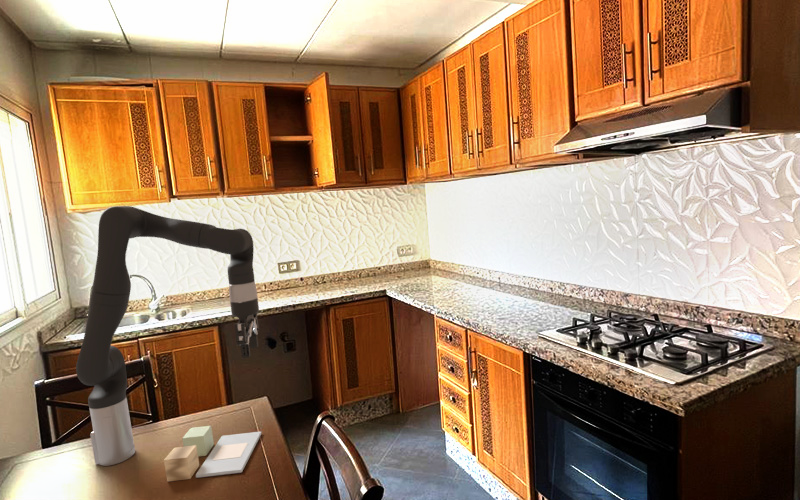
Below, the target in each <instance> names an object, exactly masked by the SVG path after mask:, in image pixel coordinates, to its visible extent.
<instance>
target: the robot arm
mask: <svg viewBox="0 0 800 500" xmlns="http://www.w3.org/2000/svg"><path fill="white" fill-rule="evenodd" d="M97 233H98V234H97V236H98V237H97V238H98V239H97V243H98V244H97V255H96V262H95V269H94V278H93V282H92V286H91V292H90V298H89V299H90V300H89V308H88V313H87V318H86V324H85V331H84V335H83V340H82V343H81V347H80V351H79V354H78V357H77V361H76V366H75V372H76V373H75V374H76V376H77V379H78V380H79V381H80V383H82V384H83V385H86V386H87V387H88V386H90V387H92V386H93V389H92V390H91V392H90V394H89V396H88V398H87V402H88V403H87V404H88V407H89V408H88V409H89V414H90V419H91V425H92V426H91V427H92V431H91V432H90V435H89V436H90V441H91V447H92V451H93V459H94V464H95V465H100V466H102V467H104V466H105V467H108V466H113V465H116V464H120V463H122V462H125V461H126V460H128V459H130V458H132V457H133V456H134V455H135V453H136V447H135V442H134V436H133V429H132V424H131V417H130V410H129V405H128V399H127V398H128V397H127V393H126V392H127V388H128V378H127V376H128V375H127V369H126V361H125V357H124V355H123V353H122V351H121V349H119V348H118V347H116V346H114V345H112V342H113V338H114V335H115V333H116V331H117V330H118V327H119V325H120V324H121V322H122V320H123V318H124V316H125V314H126V312H127V310H128V305H129V300H130V297H131V295H130V294H131V291H132V290H131V288H132V287H131V286H132V284H131V278H130V274H129V270H128V268H127V261H126V257H127V250H128V245H129V241H130V239H134V238H158V239H164V240H168V241H171V242H173V243H175V244H176V243H177V244H179V245H183V246H187V247H194V248H199V249H207V250H211V251H215V252H216V253H222V254H225V255H230V256H229V257H230V262H229V264H228V265H227V276H228V277H227V279H228V280H227V281H228V286H229V287H228V293H229V303H230V311H231V312H230V313H231V316H232V317H234V318H235V317H237V318H238V322H237V323H235V324H234V330H235V331H234V332H235V341H236V346H240V353H241V358H242V359H248V358H250V357H251V349H257V348H258V347H259V342H258V341H259V339H258V334H259V333H258V332H259V330H260V327H259V320H258V313H259V311H260V307H259V298H258V291H257V289H258V288H257V285H256V281H255V273H254V267H253V266H254V265H253V262H254V249H255V248H254V240H253V236H252V234H251V233H250V232H249V231H248V230H246V229H244V228H235V229H229V228H222V227H216V225H213V224H208V223H204V222H198V221H191V220H184V219H178V218H177V219H176V218H170V217H165V216H162V215H159V214H154V213H151V212H149V211H145V210H143V209H139V208H136V207H134V206H130V205H128V206H127V205H122V206H121V205H119V206H118V205H116V206H110V207H107V208H106V209H105V210H104V211H103V212H102V214H101V215H100V218H99V221H98V232H97ZM250 348H251V349H250Z"/></svg>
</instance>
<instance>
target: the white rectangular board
mask: <svg viewBox="0 0 800 500" xmlns="http://www.w3.org/2000/svg"><path fill="white" fill-rule="evenodd" d="M261 435H262V431H253V432H252V431H251V432H245V433H243V432H242V433H235V434H226V435H221V437H220V438H219V440H218V441H217V442H216V444H215V445H214V446H213V447H212V450H210V451H211V452H209V453H208V456H207V457H206V458H205V461H204V462H203V463H202V465H201V466H200V468H199V469H198V471H197V472H196V474H195V478H205V477H215V476H223V475H231V474H240V473H243V470H244V469H245V467H246V465H247V463H248V461H249V459H250V457H251V455H252V454H253V452H254V449H255V447H256V445H257V444H258V441H259V440H260V438H261Z"/></svg>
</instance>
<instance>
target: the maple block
mask: <svg viewBox="0 0 800 500" xmlns="http://www.w3.org/2000/svg"><path fill="white" fill-rule="evenodd" d="M163 464H164V469H165V476H166V482H174V481H175V482H176V481H182V480H183V481H185V480H191V479H192V477H193V476H194V474H195V473H196V471H197V470H198V468H199V467H200V460H199V456H198V453H197V446H196V445H194V446H185V447H183V446H178V447H173V449H172V450H171V451H170V452H169V453H168V454H167V456H165V458H164V459H163Z"/></svg>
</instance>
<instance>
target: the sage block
mask: <svg viewBox="0 0 800 500" xmlns="http://www.w3.org/2000/svg"><path fill="white" fill-rule="evenodd" d="M213 436H214V434H213V429H212V425H206V426H204V425H203V426H195V427H190V428H189V430H187V432H186V433H185V434H184V435H183V436H182V445H183V446H182V447H185V446H194V445H196V446H197V453H198V457H205V456H207V455H209V453H210V451H211V449H213V448H214V446H215V445H214V444H215V443H214V442H215V441H214V437H213Z"/></svg>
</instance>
